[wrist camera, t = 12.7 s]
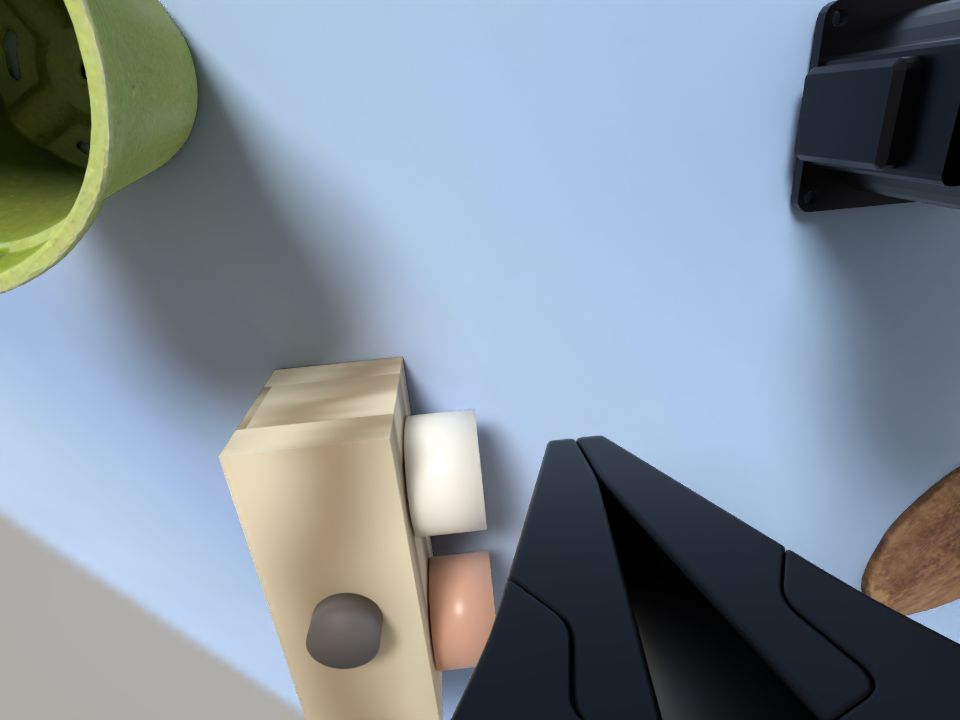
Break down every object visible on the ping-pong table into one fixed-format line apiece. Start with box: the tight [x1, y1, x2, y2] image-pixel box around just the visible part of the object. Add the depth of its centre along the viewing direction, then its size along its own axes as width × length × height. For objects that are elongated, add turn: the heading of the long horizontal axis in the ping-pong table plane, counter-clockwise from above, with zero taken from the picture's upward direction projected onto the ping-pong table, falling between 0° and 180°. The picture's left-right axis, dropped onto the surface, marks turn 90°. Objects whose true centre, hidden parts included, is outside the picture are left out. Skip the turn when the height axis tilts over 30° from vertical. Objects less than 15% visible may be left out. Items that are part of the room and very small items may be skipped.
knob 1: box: [402, 409, 487, 537], centre depth 20 cm, size 7×4×4 cm, turn 95°
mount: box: [219, 357, 442, 720], centre depth 21 cm, size 5×14×7 cm, turn 5°
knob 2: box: [428, 550, 496, 671], centre depth 23 cm, size 7×4×4 cm, turn 95°
